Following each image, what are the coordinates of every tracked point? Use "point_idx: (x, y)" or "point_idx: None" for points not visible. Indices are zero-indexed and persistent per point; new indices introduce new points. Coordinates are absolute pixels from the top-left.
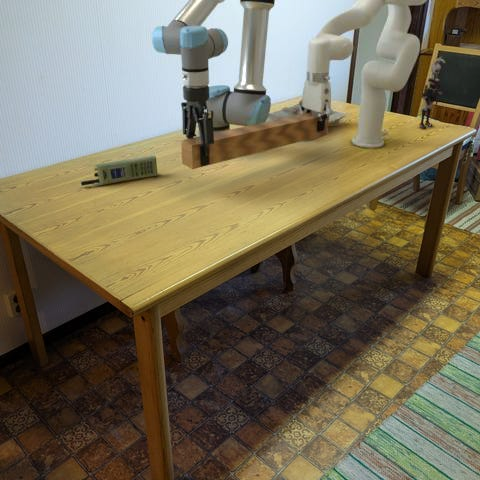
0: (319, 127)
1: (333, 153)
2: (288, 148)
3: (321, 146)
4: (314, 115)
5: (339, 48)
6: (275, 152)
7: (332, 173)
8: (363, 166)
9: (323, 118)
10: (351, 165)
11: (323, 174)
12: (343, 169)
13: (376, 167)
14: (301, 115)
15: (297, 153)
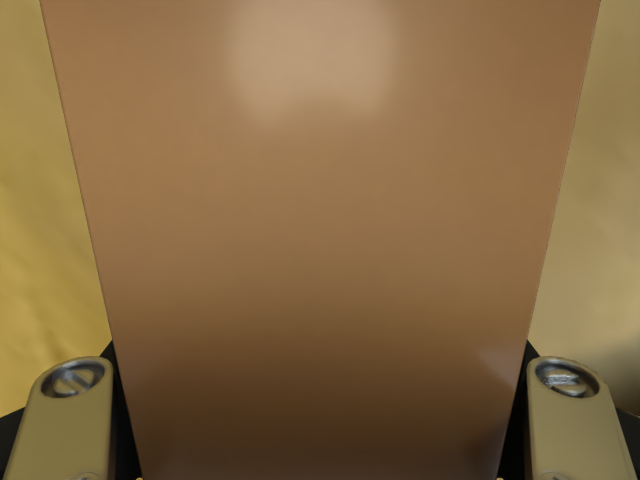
0: None
1: None
2: (577, 209)
3: None
4: (262, 417)
5: None
6: (601, 62)
7: (15, 107)
8: (45, 348)
9: (8, 423)
10: (89, 308)
11: (22, 34)
12: (51, 223)
13: (3, 388)
14: (467, 186)
15: None
